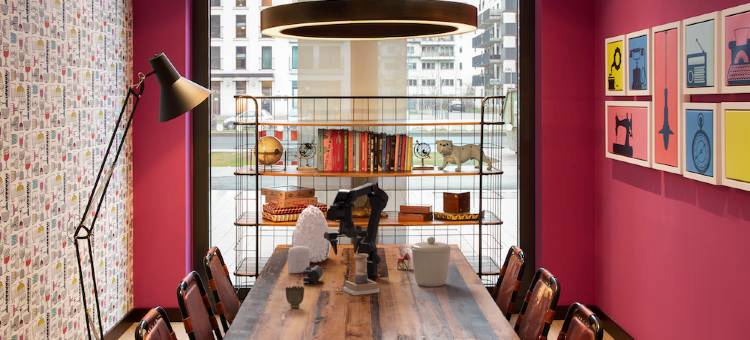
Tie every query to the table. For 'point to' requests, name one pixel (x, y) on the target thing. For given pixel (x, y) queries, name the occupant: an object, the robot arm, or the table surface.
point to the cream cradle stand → (361, 288)
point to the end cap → (312, 275)
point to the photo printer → (298, 259)
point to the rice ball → (312, 234)
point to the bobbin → (361, 269)
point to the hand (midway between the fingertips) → (345, 254)
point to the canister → (430, 262)
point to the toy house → (404, 262)
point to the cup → (294, 296)
